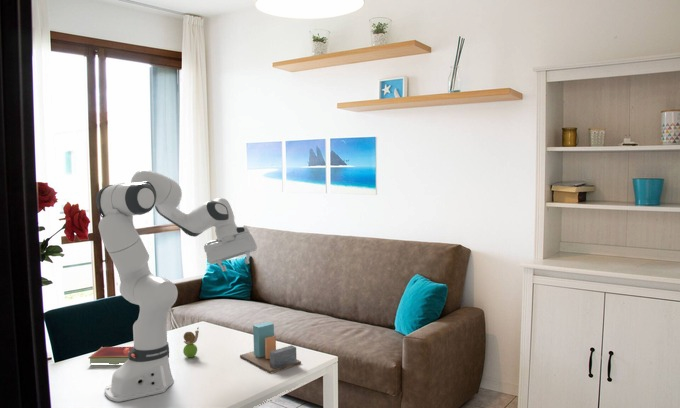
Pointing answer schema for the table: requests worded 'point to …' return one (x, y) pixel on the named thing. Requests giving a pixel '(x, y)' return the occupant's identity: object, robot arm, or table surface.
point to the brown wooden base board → (263, 362)
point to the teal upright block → (261, 337)
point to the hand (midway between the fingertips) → (236, 267)
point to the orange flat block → (269, 346)
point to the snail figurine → (190, 343)
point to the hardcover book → (109, 355)
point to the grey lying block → (283, 357)
